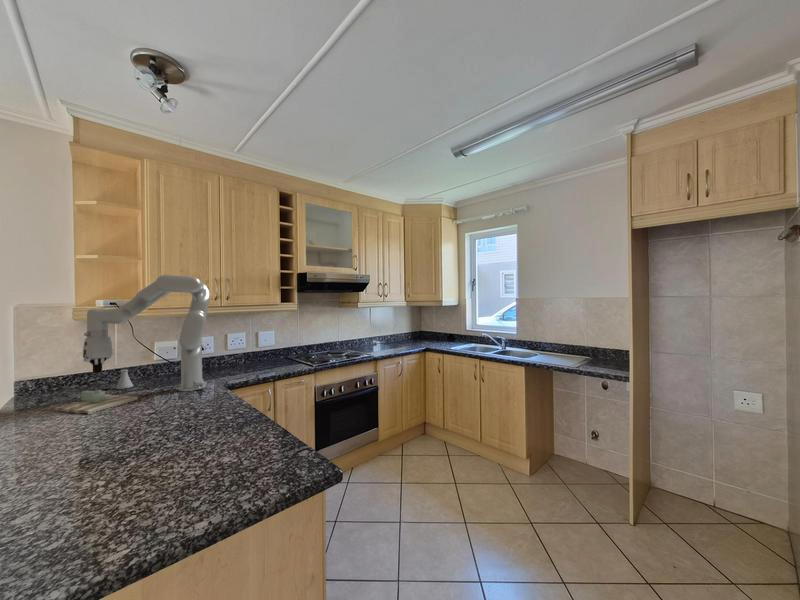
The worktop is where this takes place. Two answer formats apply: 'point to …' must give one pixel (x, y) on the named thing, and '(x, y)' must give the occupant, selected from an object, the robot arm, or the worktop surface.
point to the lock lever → (93, 396)
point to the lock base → (96, 404)
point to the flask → (124, 380)
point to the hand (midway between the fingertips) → (97, 372)
